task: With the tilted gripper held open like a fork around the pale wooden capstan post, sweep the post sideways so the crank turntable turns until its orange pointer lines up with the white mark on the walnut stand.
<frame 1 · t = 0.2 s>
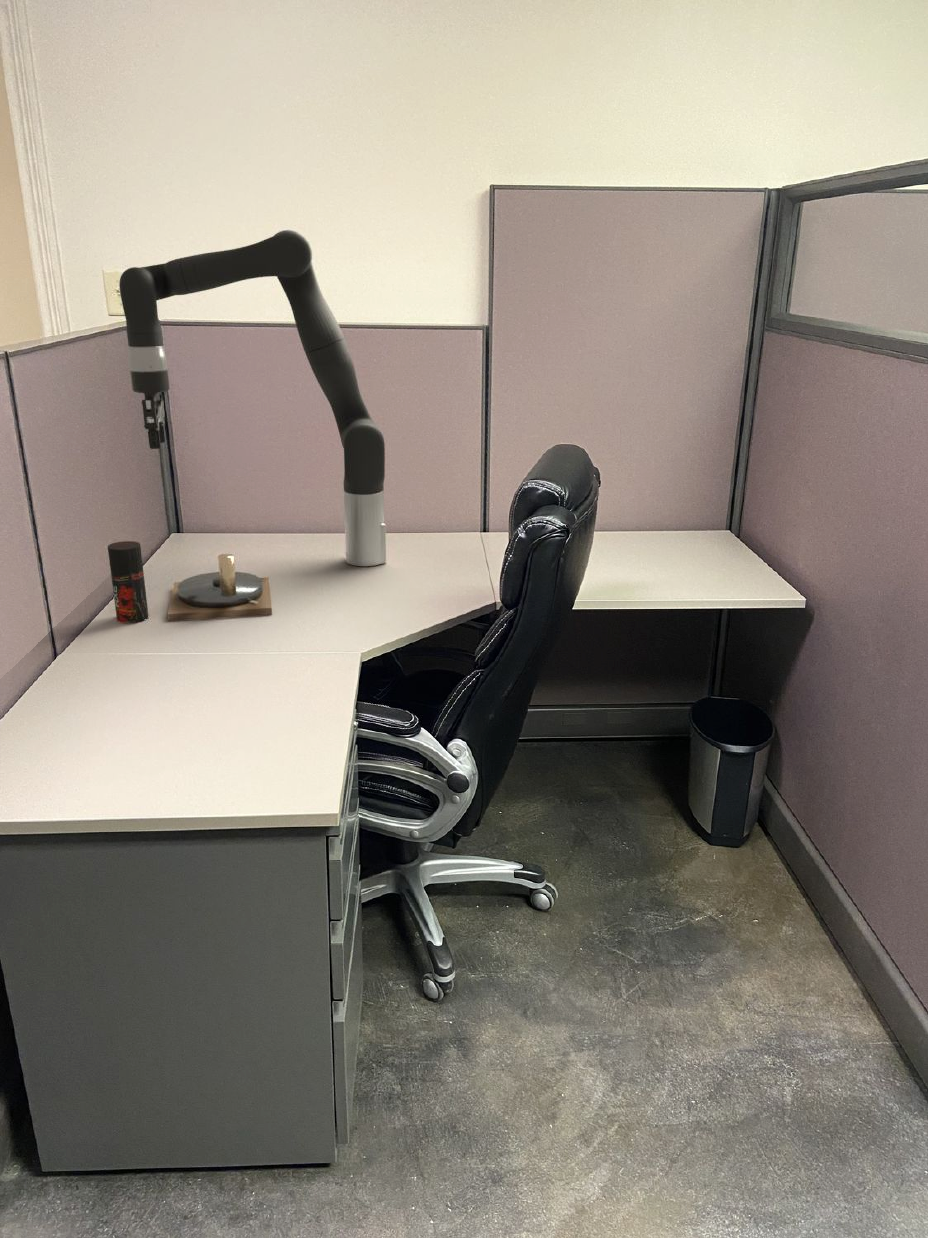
hand: (157, 445, 199), 29 cm above the table, tool pointing down, fingers open, 8 cm apart
stand base: (221, 601, 191), on the table
crank turntable: (219, 570, 189), point 7 cm above the table, hinge at -30.0°
deodorant: (132, 619, 181), on the table
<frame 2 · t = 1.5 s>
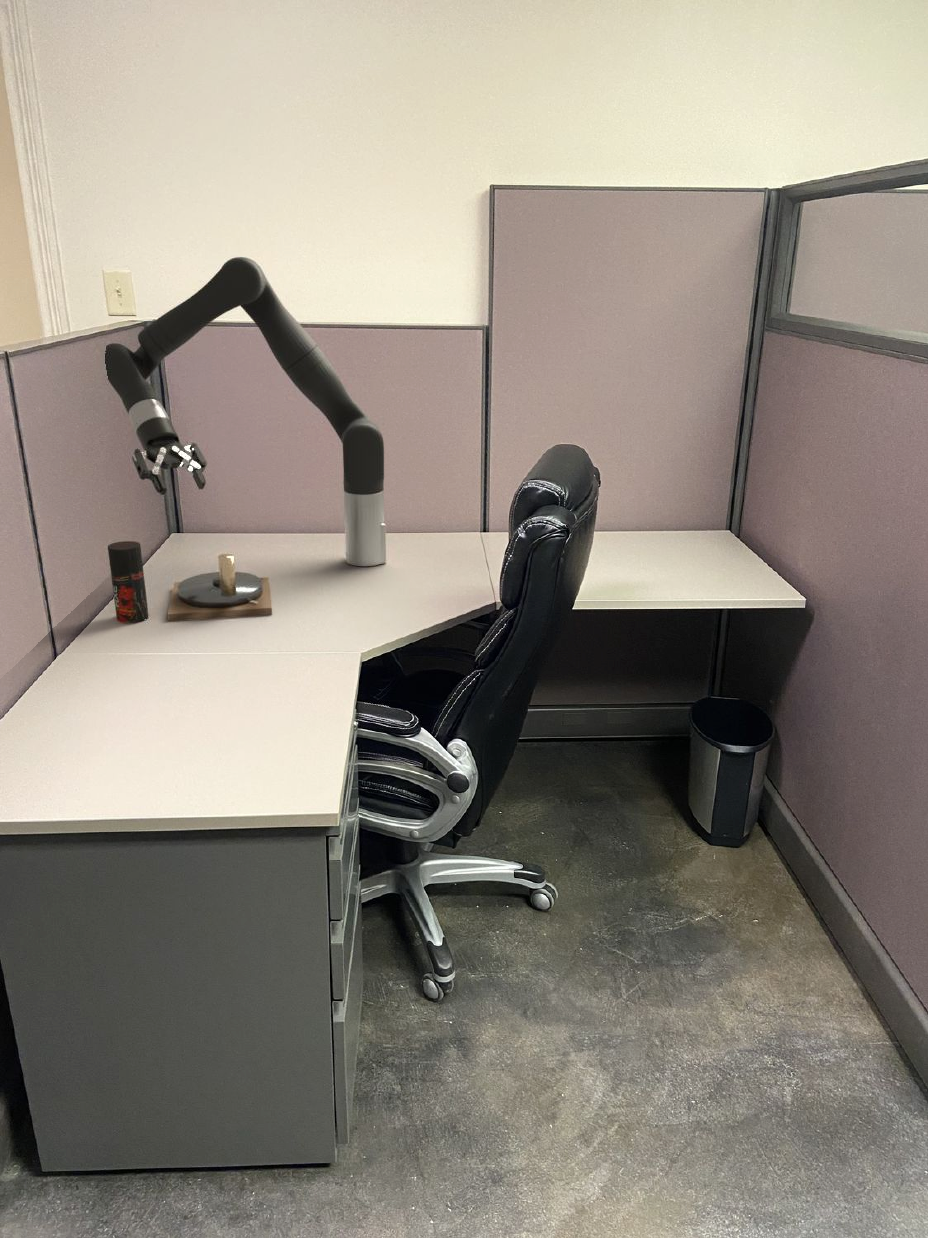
hand: (183, 489, 189), 22 cm above the table, tool tilted 45°, fingers open, 8 cm apart
nothing on the table moved.
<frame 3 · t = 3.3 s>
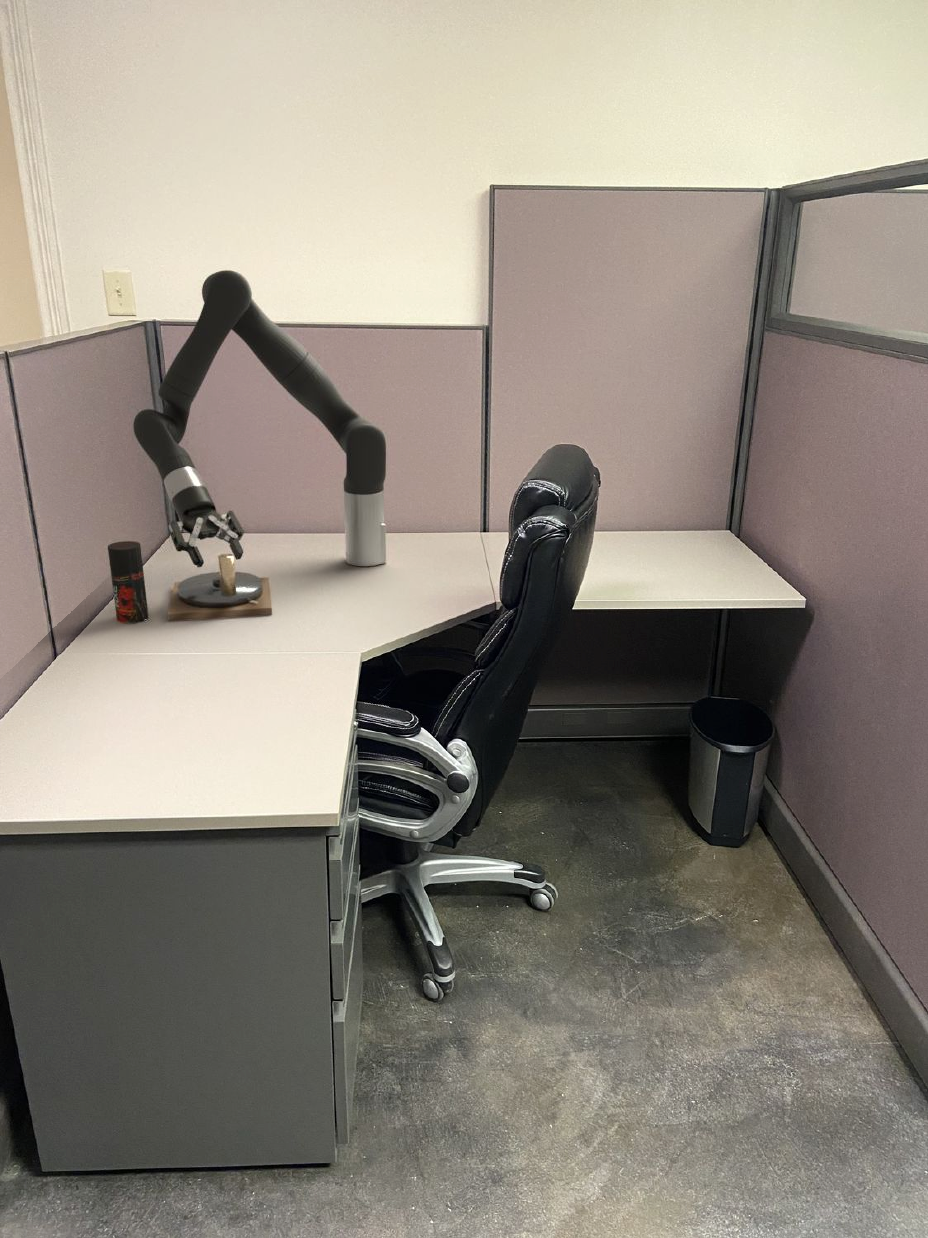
hand: (220, 561, 183), 10 cm above the table, tool tilted 45°, fingers open, 8 cm apart
nothing on the table moved.
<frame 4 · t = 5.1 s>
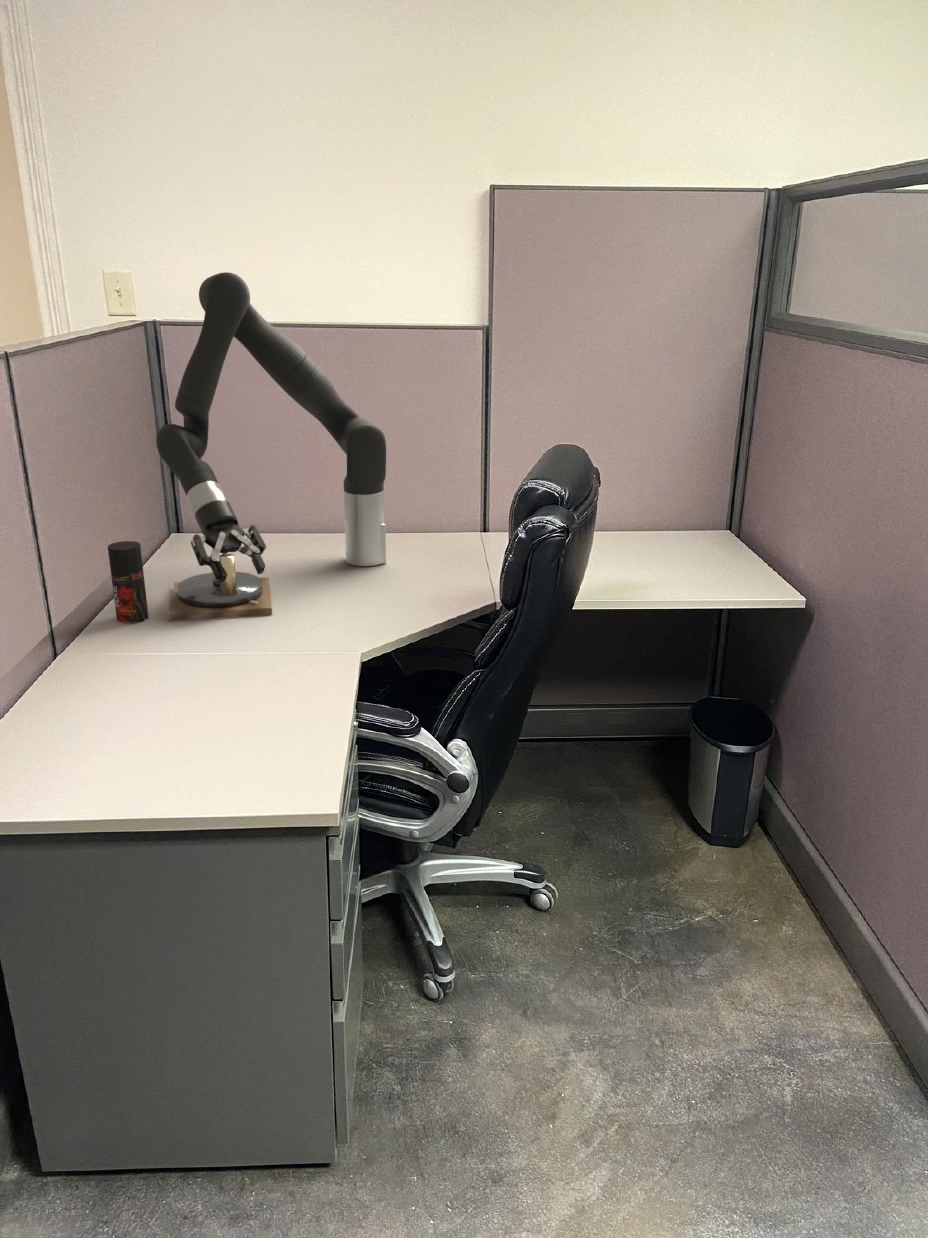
hand: (243, 575, 184), 8 cm above the table, tool tilted 45°, fingers open, 8 cm apart
crank turntable: (219, 570, 189), point 7 cm above the table, hinge at -29.0°, touching gripper
everything else where it was.
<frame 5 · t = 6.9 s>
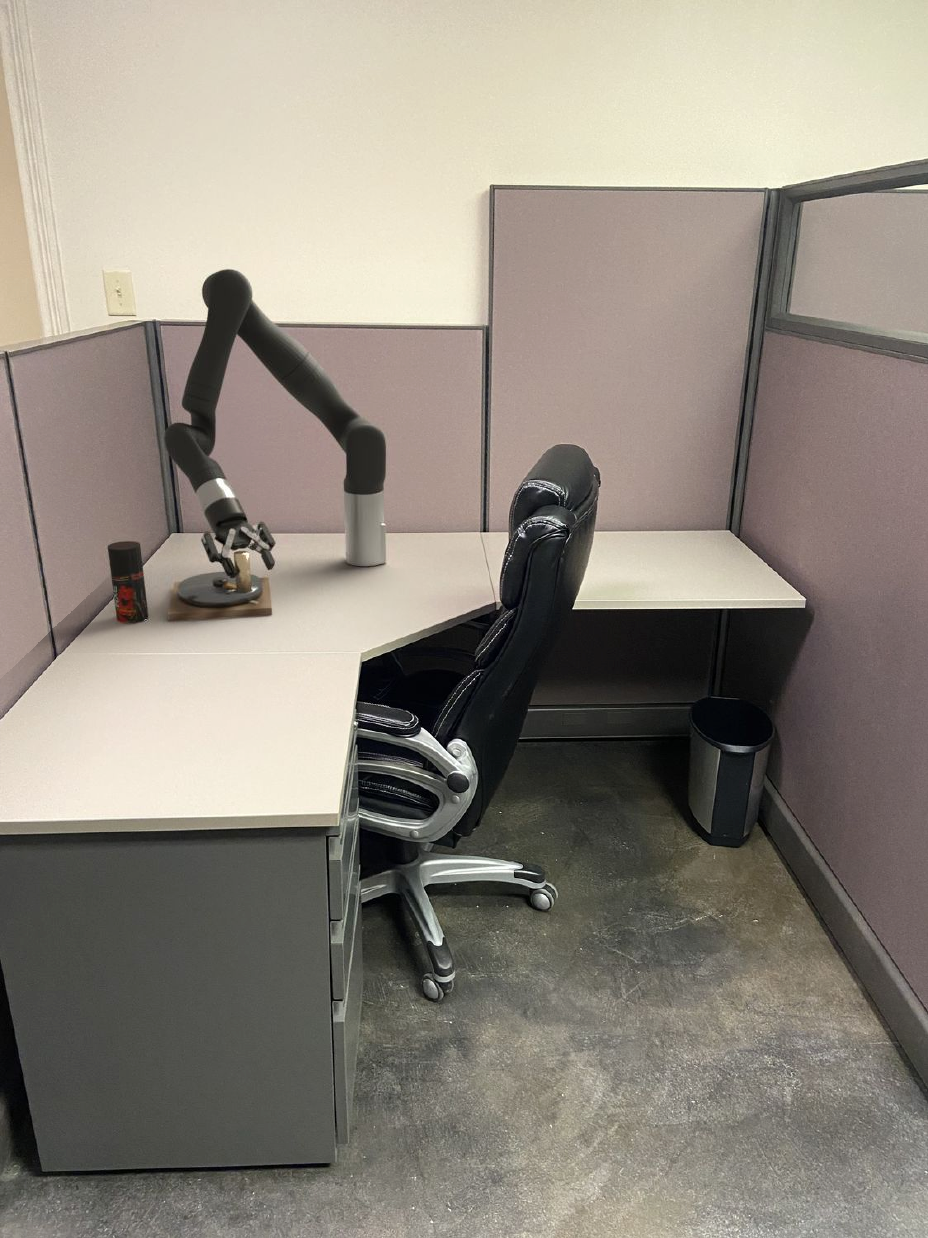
hand: (253, 572, 185), 8 cm above the table, tool tilted 45°, fingers open, 8 cm apart
crank turntable: (219, 570, 189), point 7 cm above the table, hinge at -2.2°
everything else where it was.
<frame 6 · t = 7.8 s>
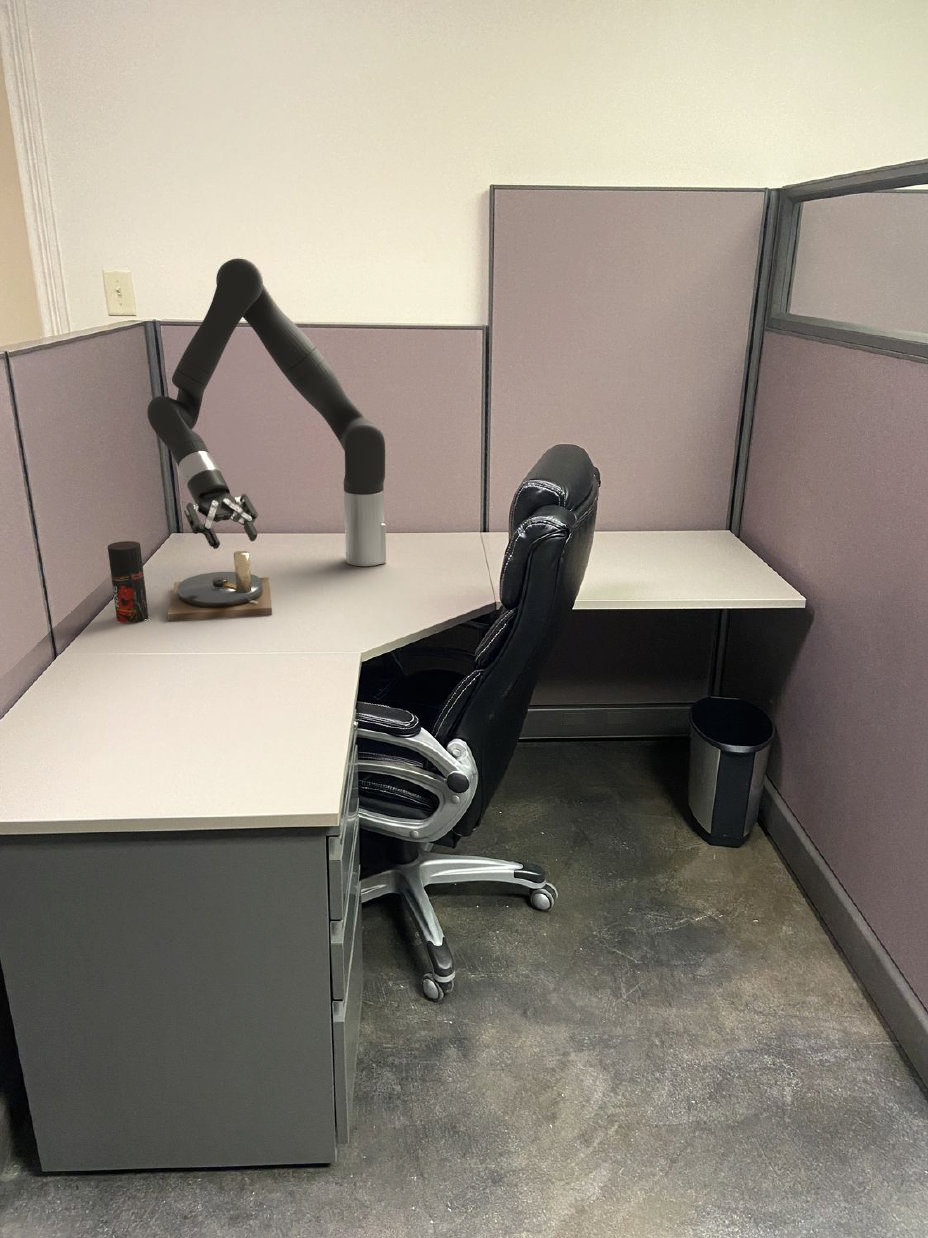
hand: (236, 542, 188), 12 cm above the table, tool tilted 45°, fingers open, 8 cm apart
nothing on the table moved.
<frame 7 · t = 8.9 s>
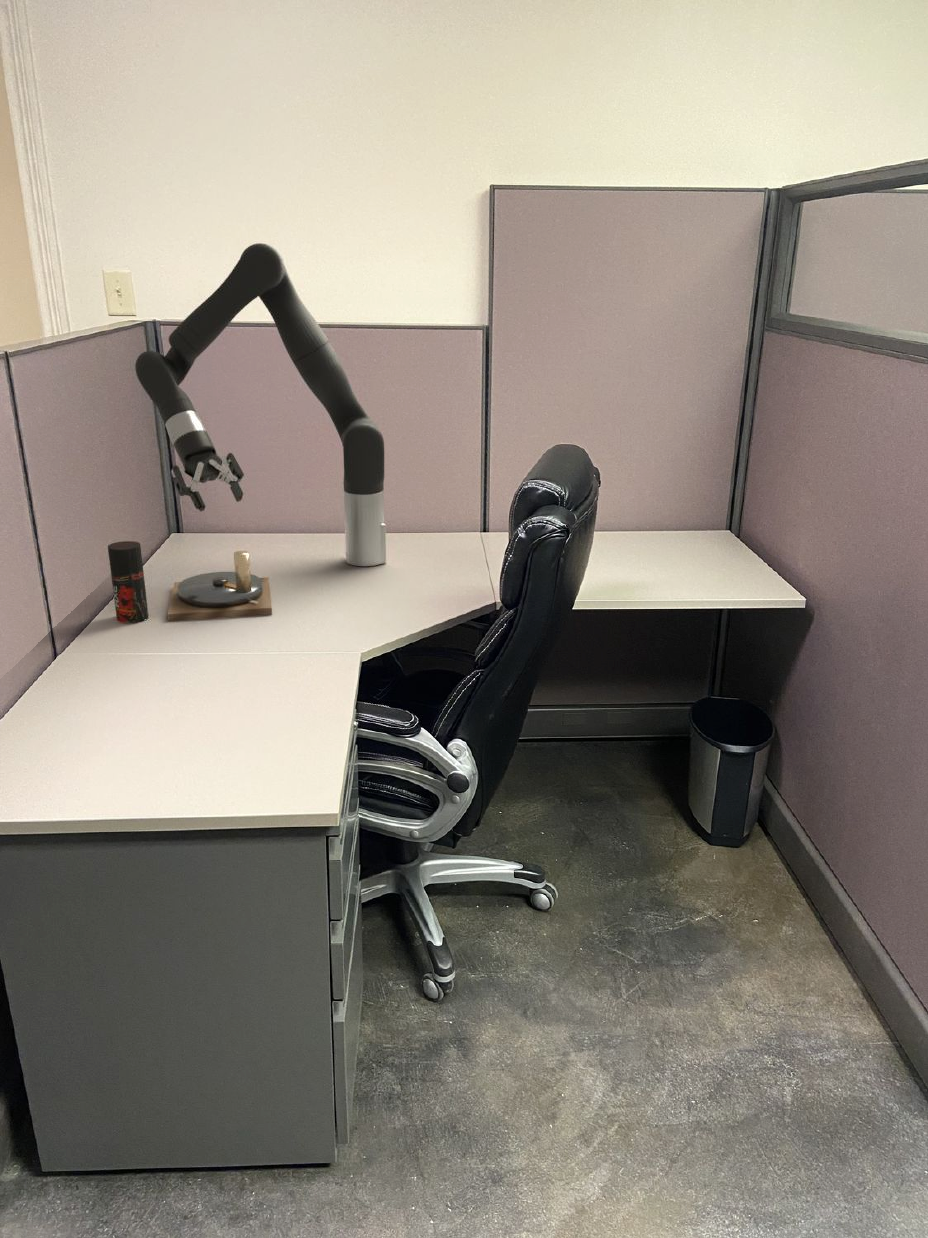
hand: (221, 504, 193), 19 cm above the table, tool tilted 40°, fingers open, 8 cm apart
nothing on the table moved.
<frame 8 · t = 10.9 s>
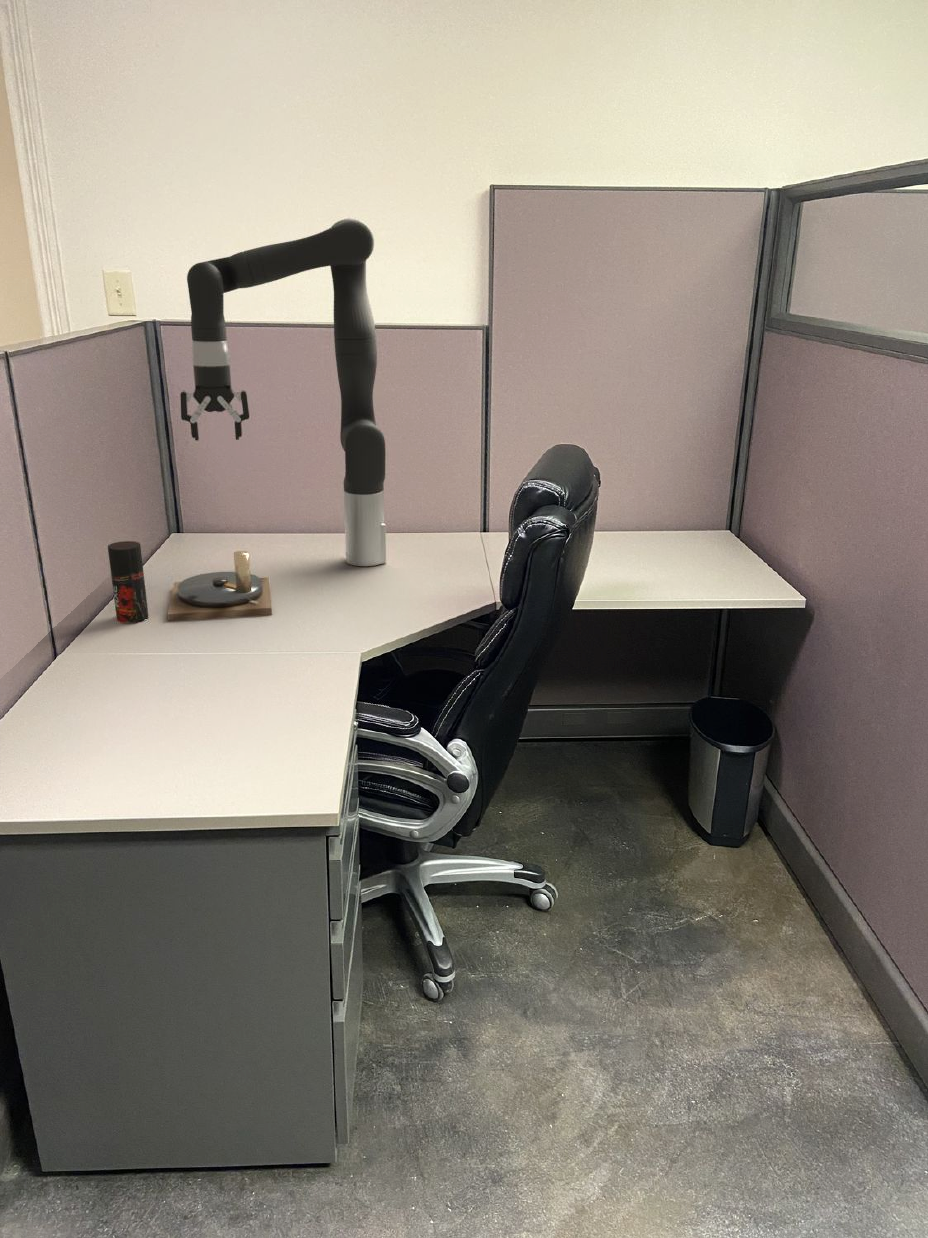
hand: (217, 439, 200), 30 cm above the table, tool pointing down, fingers open, 8 cm apart
nothing on the table moved.
at the end: crank turntable at -2° (first picture: -30°); deodorant moved 0.2 cm from its start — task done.
